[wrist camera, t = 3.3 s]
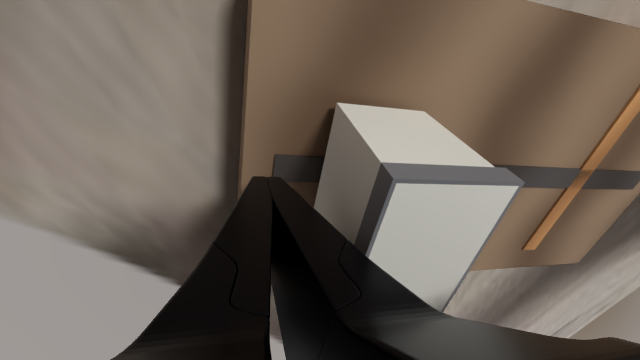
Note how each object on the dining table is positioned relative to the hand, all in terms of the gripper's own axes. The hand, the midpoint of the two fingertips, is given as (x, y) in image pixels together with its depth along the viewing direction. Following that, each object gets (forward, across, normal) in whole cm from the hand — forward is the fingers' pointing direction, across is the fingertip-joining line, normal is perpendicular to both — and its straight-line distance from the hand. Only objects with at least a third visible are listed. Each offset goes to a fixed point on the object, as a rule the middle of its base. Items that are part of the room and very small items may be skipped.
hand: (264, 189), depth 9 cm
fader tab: (+1, -4, 0) cm, 4 cm away
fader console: (+3, -9, 0) cm, 10 cm away
